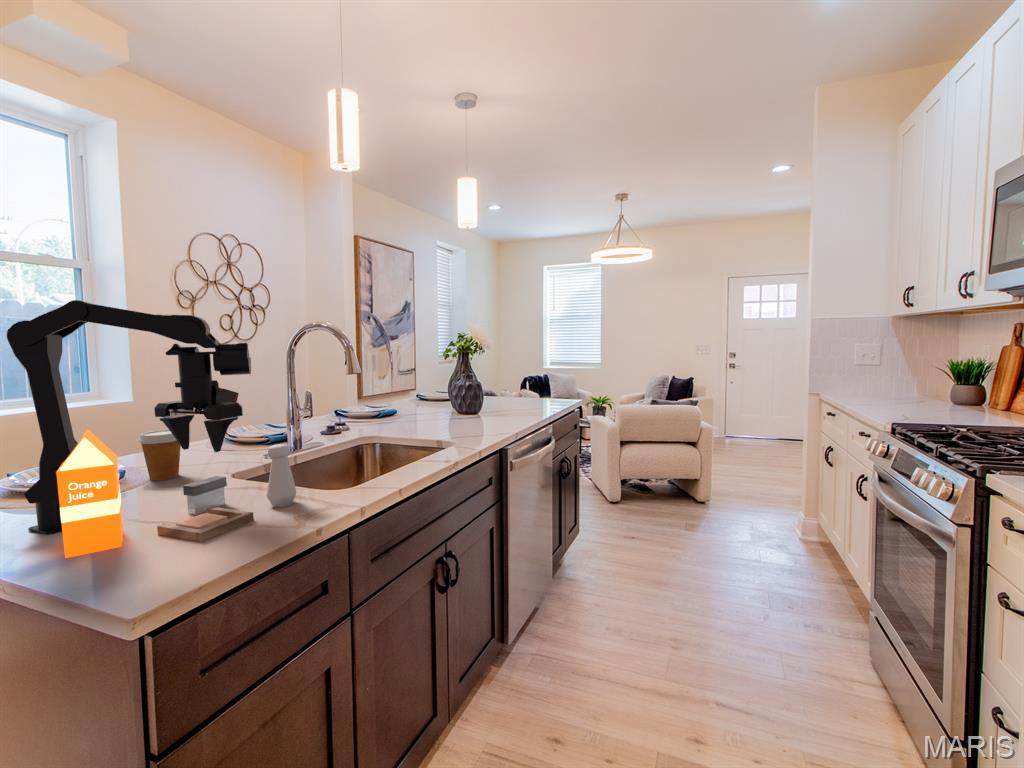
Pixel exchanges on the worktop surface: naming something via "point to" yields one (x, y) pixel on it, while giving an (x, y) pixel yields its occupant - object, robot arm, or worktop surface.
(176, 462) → the disposable coffee cup
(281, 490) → the salt shaker
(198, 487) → the grey block
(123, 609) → the worktop surface
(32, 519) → the worktop surface
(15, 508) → the worktop surface
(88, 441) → the orange juice
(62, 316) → the robot arm
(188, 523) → the tile
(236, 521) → the bay
